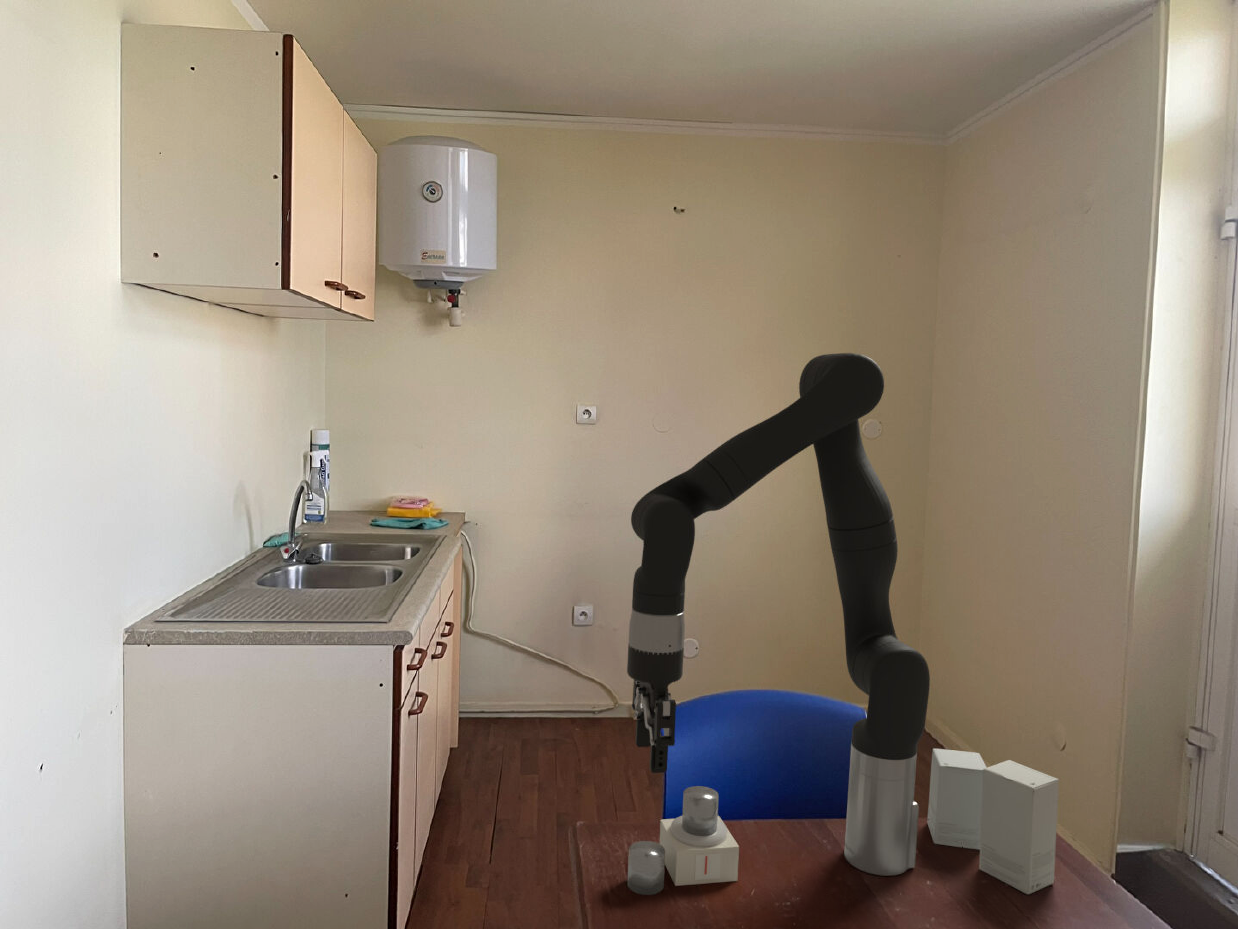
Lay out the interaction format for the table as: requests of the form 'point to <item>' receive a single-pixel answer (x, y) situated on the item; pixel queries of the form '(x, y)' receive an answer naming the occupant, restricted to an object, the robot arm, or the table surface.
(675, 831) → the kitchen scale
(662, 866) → the cylinder
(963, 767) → the supplement box
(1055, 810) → the skincare box
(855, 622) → the robot arm
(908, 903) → the table surface
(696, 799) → the cylinder
